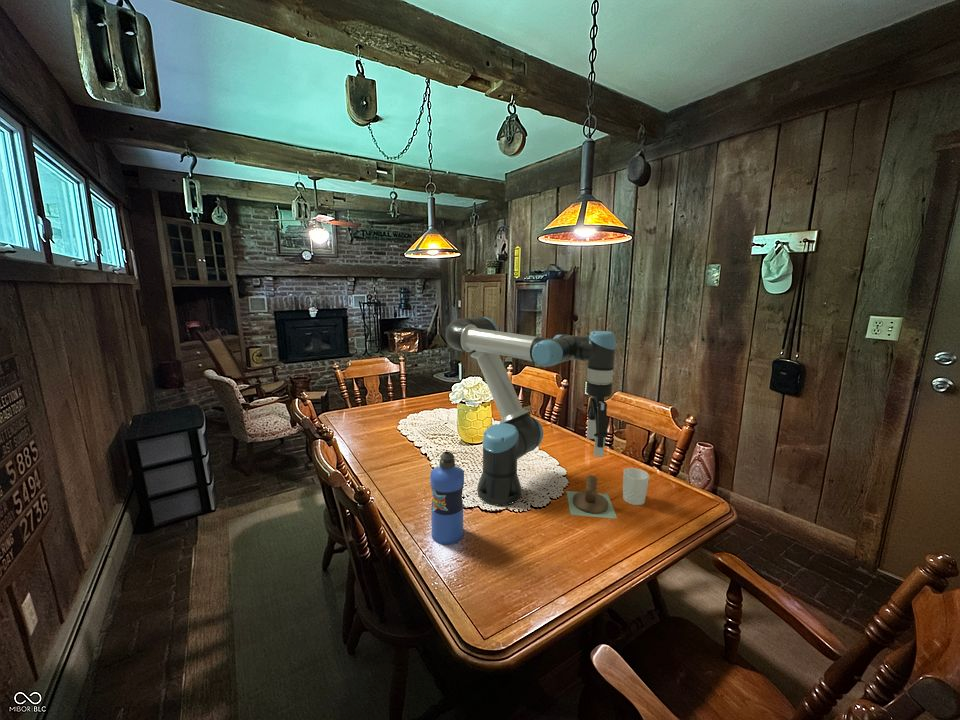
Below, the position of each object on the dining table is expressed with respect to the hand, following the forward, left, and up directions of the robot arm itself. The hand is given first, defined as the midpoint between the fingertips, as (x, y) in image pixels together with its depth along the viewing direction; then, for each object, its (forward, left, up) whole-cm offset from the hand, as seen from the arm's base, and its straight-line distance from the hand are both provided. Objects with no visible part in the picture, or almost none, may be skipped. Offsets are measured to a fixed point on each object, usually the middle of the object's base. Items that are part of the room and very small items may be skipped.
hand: (594, 447), depth 118 cm
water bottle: (-43, -21, -21) cm, 52 cm away
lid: (0, 0, -20) cm, 20 cm away
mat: (0, 0, -20) cm, 20 cm away
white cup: (+15, +5, -21) cm, 26 cm away
